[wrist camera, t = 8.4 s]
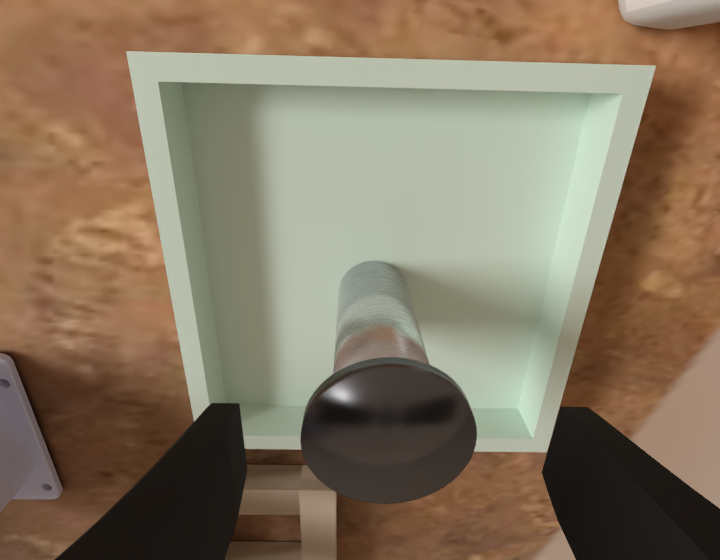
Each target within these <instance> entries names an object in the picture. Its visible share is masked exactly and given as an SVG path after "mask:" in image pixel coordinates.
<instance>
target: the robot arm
mask: <svg viewBox="0 0 720 560" xmlns="http://www.w3.org/2000/svg"><path fill="white" fill-rule="evenodd" d="M8 381H9V382H8ZM542 474H543V477H544V481H545V484H546V487H547V490H548V493H549V496H550V499H551V502H552V505H553V508H554V511H555V513H556V516H557V519H558V521H559V524H560V526H561V528H562V530H563V532H564V535H565V537H566V539H567V541H568V543H569V545H570V547H571V549H572V552H573V554H574V556H575V558H576V560H720V509H719V508H718V507H717V506H715V505H714V504H713V503H711V502H710V501H709V500H707V499H706V498H704V497H703V496H702V495H700V494H699V493H698V492H696V491H695V490H694V489H692V488H691V487H690V486H688V485H687V484H686V483H684V482H683V481H682V480H681V479H679V478H678V477H677V476H675V475H674V474H673V473H671V472H670V471H669V470H668V469H666V468H665V467H664V466H662V465H661V464H660V463H659V462H657V461H656V460H655V459H653V458H652V457H651V456H650V455H648V454H647V453H646V452H645V451H643V450H642V449H640V448H639V447H638V446H637V445H636V444H634V443H633V442H632V441H631V440H629V439H628V438H627V437H626V436H624V435H623V434H622V433H621V432H619V431H618V430H617V429H615V428H614V427H613V426H612V425H610V424H609V423H608V422H606V421H605V420H604V419H603V418H601V417H600V416H599V415H597V414H596V413H595V412H593V411H592V410H590V409H589V408H588V407H560V410H559V414H558V417H557V421H556V424H555V428H554V431H553V435H552V439H551V442H550V446H549V449H548V453H547V456H546V460H545V463H544V467H543V470H542ZM246 475H247V463H246V454H245V446H244V438H243V430H242V421H241V413H240V405H239V403H211V404H210V405H209V406H208V407H207V408H206V409H205V410H204V411H203V412H202V413H201V415H200V416H199V417H198V418H197V419H196V420H195V421H194V422H193V424H192V425H191V426H190V427H189V428H188V429H187V430H186V431H185V432H184V434H183V435H182V436H181V437H180V438H179V439H178V440H177V441H176V442H175V443H174V445H173V446H172V447H171V448H170V449H169V450H168V451H167V452H166V453H165V454H164V455H163V456H162V457H161V458H160V460H159V461H158V462H157V463H156V464H155V465H154V466H153V467H152V468H151V469H150V470H149V471H148V472H147V473H146V474H145V475H144V476H143V477H142V478H141V479H140V480H139V481H138V482H137V483H136V484H135V486H134V487H133V488H132V489H131V490H129V491H128V492H127V493H126V494H125V495H124V496H123V497H122V498H121V499H120V500H119V501H118V502H117V503H116V504H115V505H114V506H113V507H112V508H111V509H110V510H109V511H108V512H107V513H106V514H105V515H104V516H103V517H101V518H100V519H99V520H98V521H97V522H96V523H95V524H94V525H93V526H92V527H91V528H90V529H89V530H88V531H87V532H85V533H84V534H83V535H82V536H81V537H80V538H79V539H78V540H77V541H76V542H74V543H73V544H72V545H71V546H70V547H69V548H68V549H66V550H65V551H64V552H63V553H62V554H61V555H60V556H58V557H57V558H56V559H55V560H225V557H226V554H227V551H228V548H229V544H230V541H231V538H232V535H233V532H234V528H235V525H236V522H237V518H238V514H239V510H240V505H241V500H242V495H243V490H244V485H245V480H246ZM62 491H63V488H62V486H61V483H60V480H59V478H58V475H57V473H56V470H55V467H54V465H53V462H52V460H51V457H50V454H49V452H48V449H47V447H46V444H45V441H44V439H43V436H42V434H41V431H40V429H39V426H38V423H37V421H36V418H35V416H34V413H33V410H32V408H31V405H30V403H29V400H28V397H27V395H26V392H25V390H24V387H23V384H22V382H21V379H20V377H19V374H18V371H17V369H16V366H15V364H14V361H13V360H12V358H11V357H10V356H8V355H6V354H3V353H0V513H1V511H2V510H3V509H4V508H5V506H6V505H7V504H8V503H9V502H10V500H11V499H50V500H52V499H57V498H58V497H59V496H60V494H61V493H62Z"/></svg>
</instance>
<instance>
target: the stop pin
mask: <svg viewBox="0 0 720 560" xmlns="http://www.w3.org/2000/svg"><path fill="white" fill-rule="evenodd" d="M476 439H477V427H476V422H475V418H474V415H473V413H472V410H471V407H470V404H469V402H468V400H467V397H466V395H465V394H464V392H463V391H462V389H461V388H460V386H459V385H458V384H457V383H456V382H455V381H454V380H453V379H452V378H451V377H449V376H448V375H447V374H446V373H444V372H442V371H441V370H439V369H438V368H436V367H433V366H431V365H430V364H429V361H428V357H427V354H426V350H425V346H424V343H423V339H422V336H421V332H420V329H419V325H418V321H417V318H416V314H415V311H414V307H413V304H412V300H411V296H410V293H409V289H408V286H407V282H406V280H405V278H404V276H403V274H402V273H401V272H400V271H399V270H398V269H397V268H396V267H394V266H393V265H391V264H389V263H386V262H382V261H366V262H362V263H360V264H357V265H355V266H354V267H352V268H351V269H350V270H349V271H348V272H347V273H346V274H345V275H344V276H343V278H342V280H341V282H340V285H339V293H338V308H337V323H336V338H335V353H334V368H333V375H331V376H330V377H328V378H327V379H326V380H325V381H324V382H323V383H322V384H321V385H320V386H319V387H318V388H317V389H316V390H315V392H314V393H313V394H312V396H311V398H310V399H309V401H308V404H307V406H306V408H305V412H304V416H303V422H302V429H301V440H300V442H301V450H302V453H303V457H304V459H305V462H306V464H307V466H308V467H309V469H310V470H311V472H312V473H313V474H314V475H315V476H316V477H317V479H318V480H319V481H321V482H322V483H323V484H324V485H325V486H327V487H328V488H330V489H332V490H333V491H335V492H337V493H339V494H341V495H343V496H346V497H349V498H351V499H355V500H359V501H363V502H369V503H381V504H388V503H400V502H407V501H411V500H416V499H419V498H422V497H425V496H427V495H430V494H432V493H434V492H436V491H438V490H440V489H441V488H443V487H445V486H446V485H447V484H449V483H450V482H452V481H453V480H454V479H455V478H456V477H457V476H458V475H459V474H460V473H461V472H462V471H463V470H464V468H465V467H466V465H467V464H468V462H469V461H470V459H471V457H472V455H473V452H474V449H475V446H476Z"/></svg>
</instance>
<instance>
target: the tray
mask: <svg viewBox="0 0 720 560" xmlns="http://www.w3.org/2000/svg"><path fill="white" fill-rule="evenodd" d="M126 53H127V59H128V64H129V69H130V75H131V80H132V86H133V91H134V97H135V102H136V108H137V113H138V119H139V124H140V130H141V135H142V141H143V146H144V151H145V157H146V162H147V168H148V173H149V179H150V184H151V190H152V195H153V201H154V206H155V212H156V217H157V222H158V228H159V233H160V239H161V244H162V250H163V255H164V261H165V266H166V272H167V277H168V283H169V288H170V293H171V299H172V304H173V310H174V315H175V321H176V326H177V332H178V337H179V343H180V348H181V354H182V359H183V364H184V370H185V375H186V381H187V386H188V392H189V397H190V403H191V408H192V414H193V419H194V421H195V420H196V419H197V418H198V417H199V416H200V415H201V413H202V412H203V411H204V410H205V409H206V408H207V407H208V406H209V405H210V404H211V403H239V405H240V413H241V421H242V430H243V438H244V446H245V449H295V450H301V442H300V440H301V429H302V422H303V416H304V412H305V408H306V406H307V404H308V401H309V399H310V398H311V396H312V394H313V393H314V392H315V390H316V389H317V388H318V387H319V386H320V385H321V384H322V383H323V382H324V381H325V380H326V379H327V378H328V377H330V376H331V375H333V368H334V353H335V338H336V323H337V308H338V293H339V285H340V282H341V280H342V278H343V276H344V275H345V274H346V273H347V272H348V271H349V270H350V269H351V268H352V267H354V266H355V265H357V264H360V263H362V262H366V261H382V262H386V263H389V264H391V265H393V266H394V267H396V268H397V269H398V270H399V271H400V272H401V273H402V274H403V276H404V278H405V280H406V282H407V286H408V289H409V293H410V296H411V300H412V304H413V307H414V311H415V314H416V318H417V321H418V325H419V329H420V332H421V336H422V339H423V343H424V346H425V350H426V354H427V357H428V361H429V364H430V365H431V366H433V367H436V368H438V369H439V370H441V371H442V372H444V373H446V374H447V375H448V376H449V377H451V378H452V379H453V380H454V381H455V382H456V383H457V384H458V385H459V386H460V388H461V389H462V391H463V392H464V394H465V395H466V397H467V400H468V402H469V404H470V407H471V410H472V413H473V415H474V418H475V422H476V427H477V439H476V446H475V449H474V451H476V452H547V450H548V446H549V442H550V439H551V435H552V432H553V428H554V425H555V421H556V418H557V414H558V411H559V407H560V404H561V400H562V397H563V393H564V389H565V386H566V382H567V379H568V375H569V372H570V368H571V365H572V361H573V358H574V354H575V351H576V347H577V344H578V340H579V336H580V333H581V329H582V326H583V322H584V319H585V315H586V312H587V308H588V305H589V301H590V298H591V294H592V290H593V287H594V283H595V280H596V276H597V273H598V269H599V266H600V262H601V259H602V255H603V252H604V248H605V245H606V241H607V237H608V234H609V230H610V227H611V223H612V220H613V216H614V213H615V209H616V206H617V202H618V199H619V195H620V192H621V188H622V184H623V181H624V177H625V174H626V170H627V167H628V163H629V160H630V156H631V153H632V149H633V146H634V142H635V138H636V135H637V131H638V128H639V124H640V121H641V117H642V114H643V110H644V107H645V103H646V100H647V96H648V93H649V89H650V85H651V82H652V78H653V75H654V71H655V68H656V66H648V65H611V64H575V63H538V62H501V61H464V60H428V59H391V58H354V57H317V56H281V55H244V54H207V53H170V52H134V51H126Z"/></svg>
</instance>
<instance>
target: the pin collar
mask: <svg viewBox="0 0 720 560" xmlns="http://www.w3.org/2000/svg"><path fill="white" fill-rule="evenodd" d="M238 515H300V523H301V542H268V541H230V544H229V548H228V551H227V554H226V557H225V560H337V492H335V491H333V490H332V489H330V488H328V487H327V486H325V485H324V484H323V483H322V482H321V481H319V480H318V479H317V477H316V476H315V475H314V474H313V473H312V472H311V470H310V469H309V467H308V466H307V465H251V464H247V475H246V480H245V485H244V490H243V495H242V500H241V505H240V510H239V514H238Z"/></svg>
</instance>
